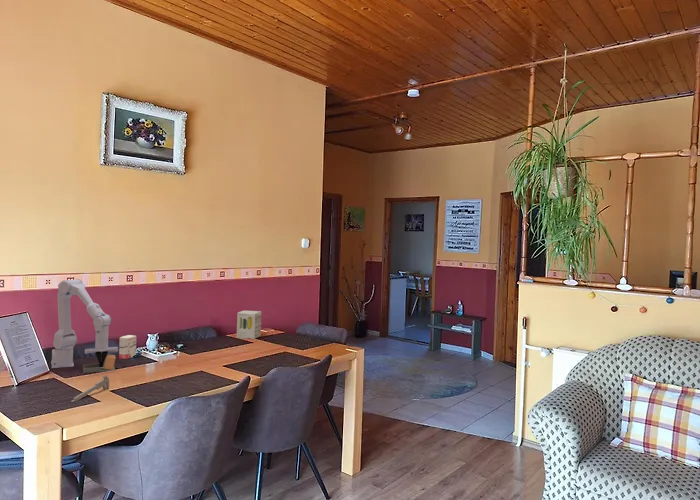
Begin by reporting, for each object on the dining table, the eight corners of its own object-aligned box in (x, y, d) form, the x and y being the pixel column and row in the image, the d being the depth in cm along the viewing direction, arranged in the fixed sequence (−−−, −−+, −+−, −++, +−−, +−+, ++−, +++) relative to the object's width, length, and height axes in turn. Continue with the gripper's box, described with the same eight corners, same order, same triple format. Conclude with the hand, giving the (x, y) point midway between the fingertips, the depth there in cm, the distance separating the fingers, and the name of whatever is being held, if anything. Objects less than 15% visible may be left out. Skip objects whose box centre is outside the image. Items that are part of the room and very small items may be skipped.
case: (83, 373, 236) (83, 368, 236) (82, 366, 248) (82, 361, 248) (99, 372, 239) (99, 367, 239) (98, 365, 252) (98, 360, 252)
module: (104, 369, 241) (106, 357, 242) (103, 366, 246) (106, 354, 247) (112, 369, 243) (115, 357, 244) (112, 366, 248) (114, 355, 249)
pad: (99, 372, 239) (99, 371, 239) (98, 368, 247) (98, 367, 247) (115, 370, 243) (115, 370, 243) (114, 366, 250) (114, 365, 250)
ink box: (126, 359, 266) (126, 338, 266) (118, 359, 267) (118, 337, 267) (136, 356, 274) (136, 335, 274) (128, 355, 275) (129, 334, 275)
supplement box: (236, 337, 337) (236, 312, 337) (243, 334, 350) (244, 310, 350) (254, 339, 335) (255, 313, 334) (261, 335, 348) (261, 311, 347)
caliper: (107, 388, 215) (107, 374, 215) (109, 388, 215) (109, 374, 215) (70, 402, 195) (71, 387, 195) (72, 403, 195) (73, 387, 195)
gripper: (85, 342, 236) (84, 370, 236) (118, 340, 244) (117, 367, 244) (85, 339, 242) (84, 366, 242) (117, 337, 250) (116, 364, 250)
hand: (100, 366), depth 243 cm, fingers closed
